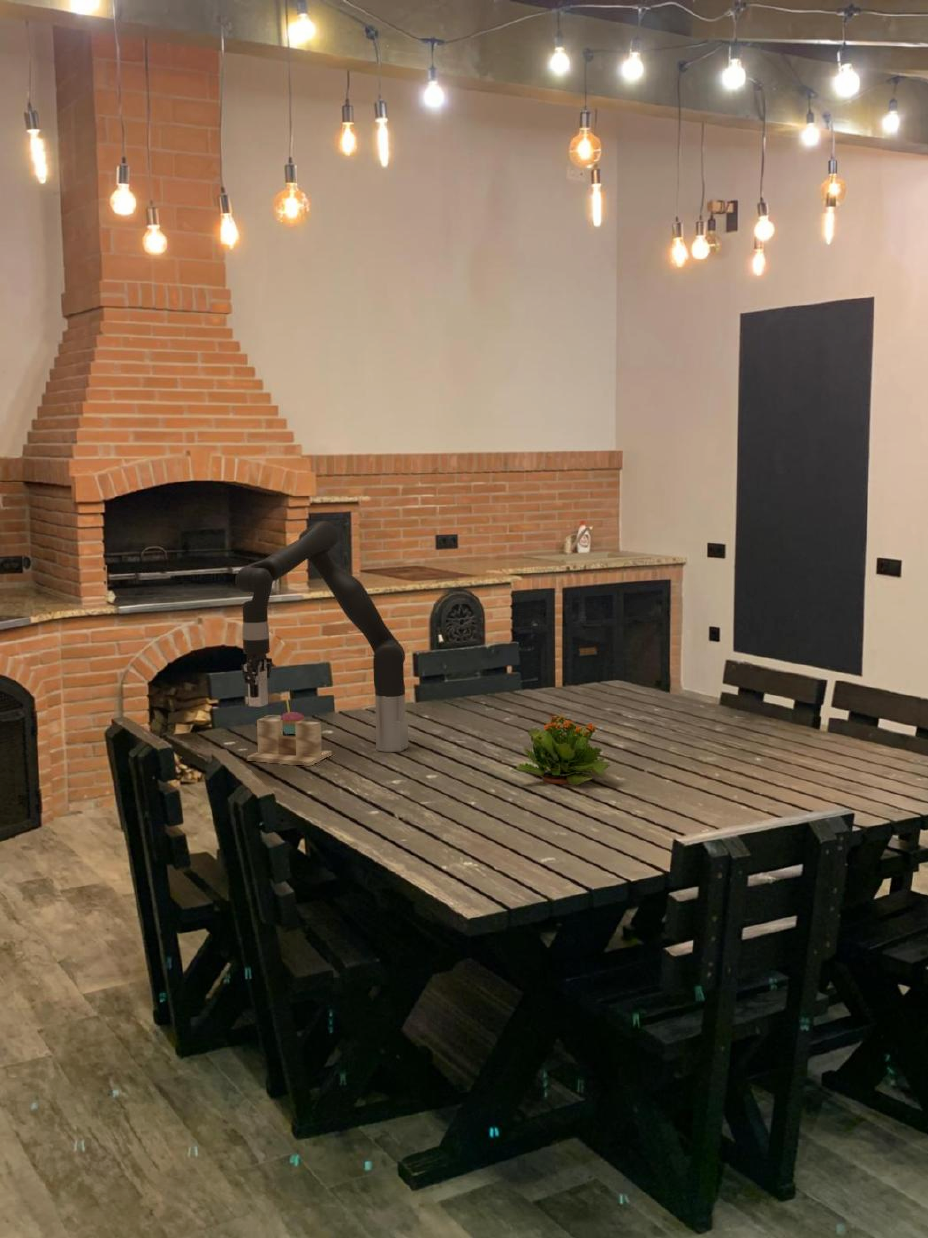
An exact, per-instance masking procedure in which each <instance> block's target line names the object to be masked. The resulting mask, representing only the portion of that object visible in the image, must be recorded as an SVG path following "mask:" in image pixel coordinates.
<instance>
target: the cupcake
mask: <svg viewBox="0 0 928 1238" xmlns="http://www.w3.org/2000/svg"><path fill="white" fill-rule="evenodd" d="M287 697H288V696H286V697H285V701H286V708H287V712H285V713H283V714H281V715H280V716H281V720H282V724H283V732H284V733H283V734H284V735H287V734H295V735H296V733H295V723H296V722H299V721H306V718H305V715H303V714H302V713H300V712H296V711H290V706H289V705H290V704H289V699H288V698H287Z"/></svg>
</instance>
